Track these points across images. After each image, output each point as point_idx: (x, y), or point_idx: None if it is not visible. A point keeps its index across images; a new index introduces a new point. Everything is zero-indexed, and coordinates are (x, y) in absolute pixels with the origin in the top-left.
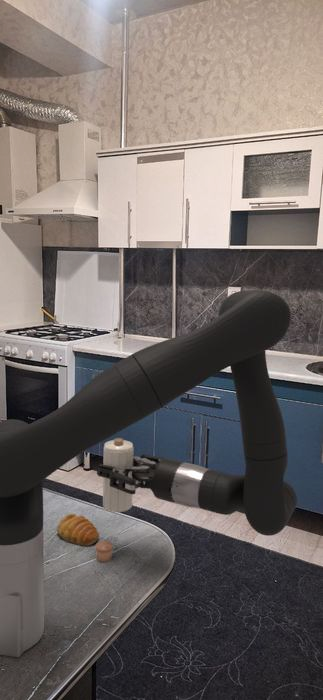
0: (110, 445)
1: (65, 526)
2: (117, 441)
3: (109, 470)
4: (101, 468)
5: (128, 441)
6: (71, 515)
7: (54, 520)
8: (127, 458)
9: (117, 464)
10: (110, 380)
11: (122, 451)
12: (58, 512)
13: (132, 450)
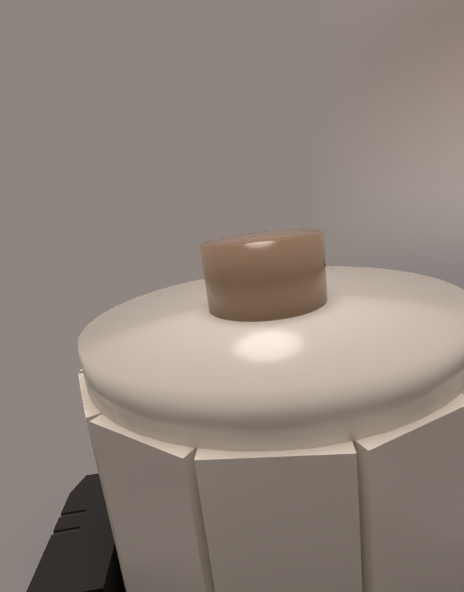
0: (182, 299)
1: None
2: (205, 253)
3: (59, 580)
4: (87, 495)
5: (453, 289)
6: None
7: None
8: (240, 583)
9: (123, 570)
10: None
11: (131, 421)
12: None
13: (411, 461)
